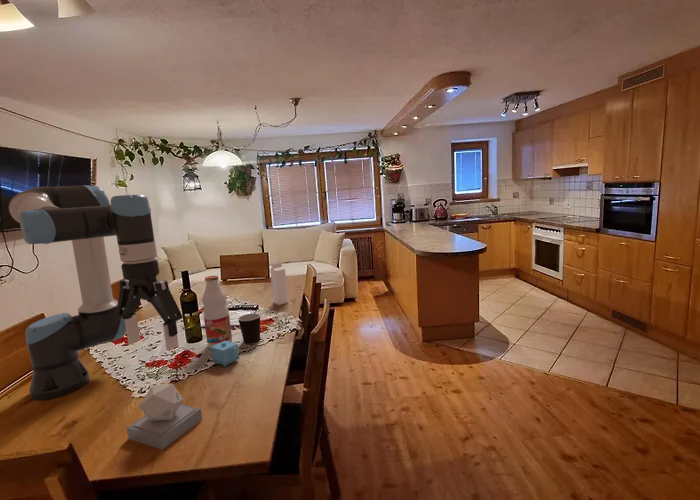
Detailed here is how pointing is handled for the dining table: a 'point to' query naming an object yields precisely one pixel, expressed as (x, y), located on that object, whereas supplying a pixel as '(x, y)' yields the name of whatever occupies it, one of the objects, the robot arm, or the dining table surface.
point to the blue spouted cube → (225, 353)
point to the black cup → (250, 328)
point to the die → (161, 402)
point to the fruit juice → (215, 313)
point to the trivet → (164, 427)
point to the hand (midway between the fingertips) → (153, 345)
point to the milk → (279, 284)
